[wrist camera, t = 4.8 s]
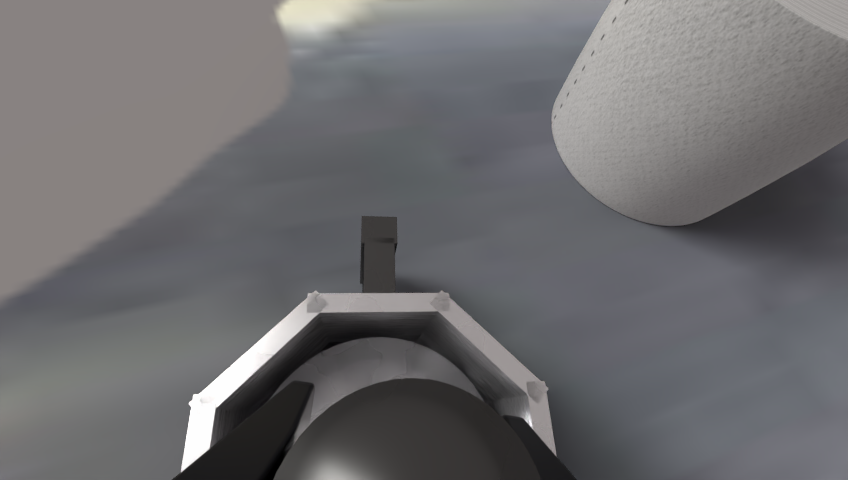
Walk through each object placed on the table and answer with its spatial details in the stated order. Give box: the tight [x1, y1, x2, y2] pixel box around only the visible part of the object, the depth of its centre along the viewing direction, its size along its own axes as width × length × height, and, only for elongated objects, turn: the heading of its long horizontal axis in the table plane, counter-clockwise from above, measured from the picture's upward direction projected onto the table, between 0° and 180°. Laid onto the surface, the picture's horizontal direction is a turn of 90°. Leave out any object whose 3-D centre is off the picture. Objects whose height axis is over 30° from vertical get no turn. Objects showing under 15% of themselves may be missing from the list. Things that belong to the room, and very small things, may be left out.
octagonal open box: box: [181, 216, 556, 472], centre depth 14 cm, size 13×10×6 cm
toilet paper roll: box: [551, 0, 848, 226], centre depth 20 cm, size 12×12×12 cm
